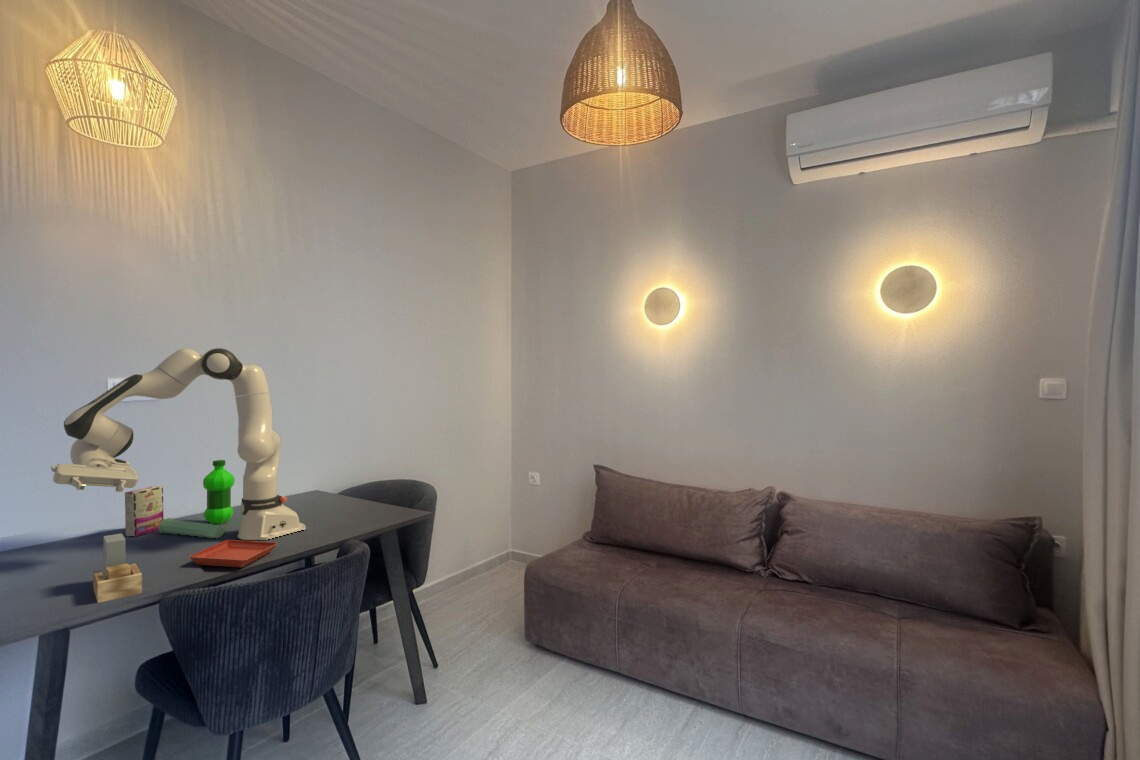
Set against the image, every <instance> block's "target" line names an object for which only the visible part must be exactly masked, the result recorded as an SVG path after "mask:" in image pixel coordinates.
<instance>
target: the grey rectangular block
mask: <svg viewBox="0 0 1140 760" xmlns="http://www.w3.org/2000/svg"><path fill="white" fill-rule="evenodd" d="M126 543H127V542H126V537H125V536H124V535H123V533H116V534H115V533H114V534H110V535H104V536H103V543H102V545H103V546H102V547H103V551H102V552H103V553H102V554H103V558H102V559H103V561H102V562H103V567H102V568H103V572H102V574H103V577H104V580H105V578H106V568H107V567H112V566H116V565H121V564H126V558H127V557H126V545H127V544H126Z"/></svg>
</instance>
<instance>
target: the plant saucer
mask: <svg viewBox="0 0 1140 760" xmlns="http://www.w3.org/2000/svg"><path fill="white" fill-rule="evenodd" d="M277 545H278V542H272V541H271V542H268V541H257V540H237V539H235V540H234V539H225V540H223V541H222V542H219V543H217V544H214V545H212V546H209V547H207V548H205V549H203V550H200V551H198V552H196V553H194V554H191V555H189V556H188V558H189V559H190V560H192V562H193V563H195V564H196V565H199V566H215V567H216V566H217V567H229V568H244V567H245V566H247V565H249V564H251V563H253V562H255V561H256V560H259V559H261V558H263V557H264V555H265V556H267V555H268V554H270V553H271V552H272V550H273V549H274V548H276V546H277ZM267 553H268V554H267ZM262 556H263V557H262ZM260 557H261V558H260ZM258 558H259V559H258Z"/></svg>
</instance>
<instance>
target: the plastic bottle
mask: <svg viewBox="0 0 1140 760" xmlns="http://www.w3.org/2000/svg"><path fill="white" fill-rule="evenodd" d="M225 466H226V460H225V459H217V460H215V459H214V460H212V467H213V470H212V471H210V472H209V473H208V474H207V475H205V477H204V479H203V480H202V481H203V482H202V486H203V488H204V489H205V490H206V509H205V511H204V512H203V517H204V519H205V520H206V521H207V522H209V524H211V523H212V524H217V525H222V524H221V523H223V524H226V523H227V522H228V521H229V520H230V519H231V518H232V517H233V514H234V509H233V507H232V506H231V505H232V502H231V501H232V500H231V499H232V498H231V497H232V494H231V491H232V488H233V486H234V484H235V476H234V474H232V473H231V472H230V471H228V470H226V469H225ZM226 521H227V522H226ZM225 522H226V523H225Z"/></svg>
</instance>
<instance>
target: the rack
mask: <svg viewBox="0 0 1140 760" xmlns="http://www.w3.org/2000/svg"><path fill="white" fill-rule="evenodd" d="M129 565H130V566H131V575H129V576H124V577H119V578H114V579H109V580H104V577H103V572H102V570H100V569H99V570H96V571H95V570H94V571H93V593H94V596H95V598H96V603H97V604H98V603H99V604H100V603H103V602H104V603H105V602H107V601H113V600H117V599H120V598H121V599H122V598H125V597H130V596H135V595H138V594H142V593H143V573H142V572H141V571H140V568H139V567H138V565H137V564H136V563H131V564H129Z"/></svg>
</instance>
